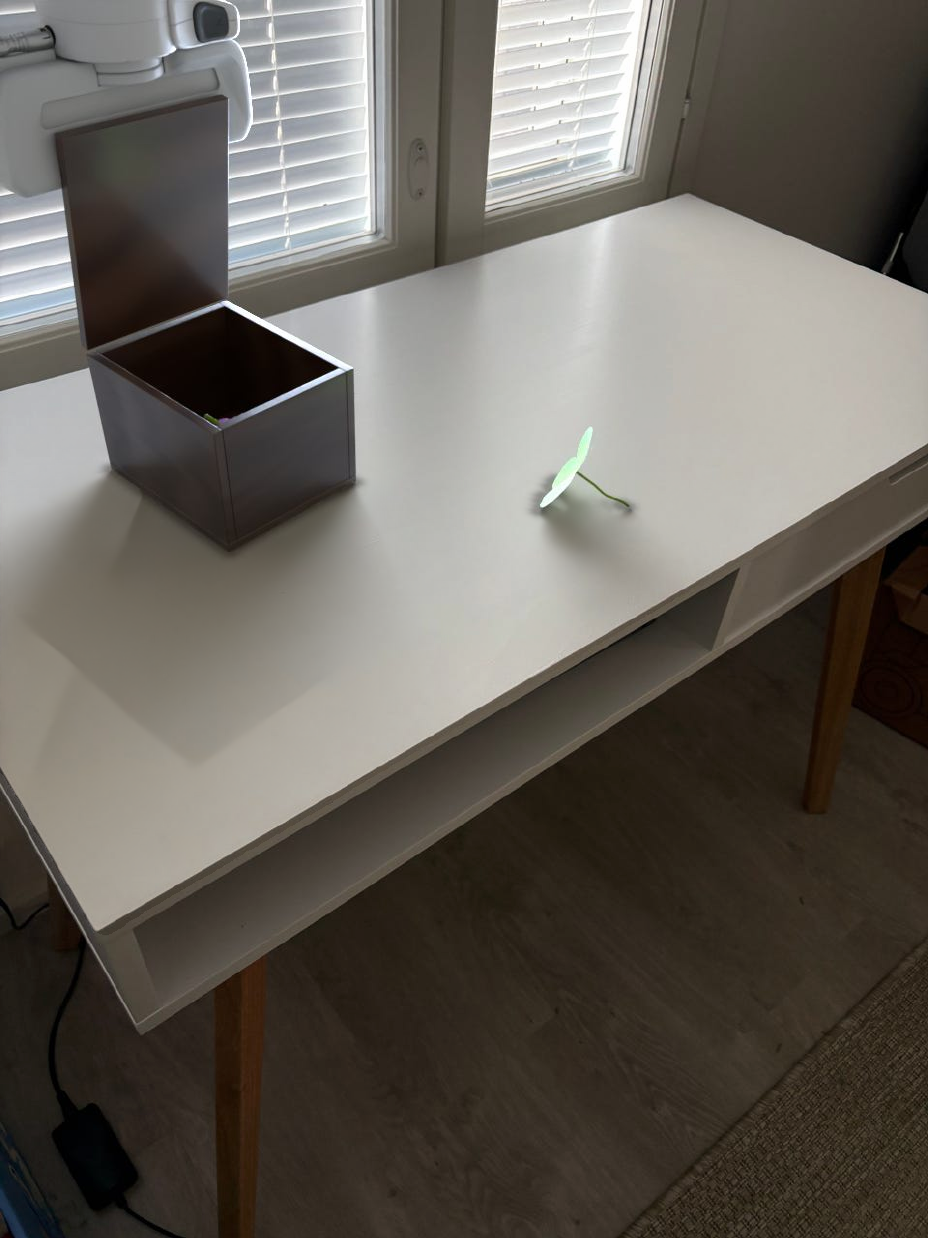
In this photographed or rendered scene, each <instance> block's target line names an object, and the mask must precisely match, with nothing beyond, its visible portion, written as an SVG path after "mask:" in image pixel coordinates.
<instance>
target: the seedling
mask: <svg viewBox="0 0 928 1238" xmlns="http://www.w3.org/2000/svg"><path fill="white" fill-rule="evenodd" d="M592 435H593V427H592V426H589V427H588V428H587V429H586V431H585V432H584V434H583V436H582V437H581V439H580V442H579V445H578V449H577V454H576V456H573V457H571V458H570V459H569V460H568V461H567V462H566V463H565V464H564V465H563V466H562V467H561V469H560V471H559V472H558V473H557V475H556V477H555V478H554V480H553V483H552V485H551V491H549V492H548V493H547V494H546V495H544V497H543V499H542V500H541V501H542V502H541V503H540V504H539V507H540V508H544V507H546V506H548V505H549V504H551V503H552V502H553V501H554V500H556V499H557V498H558V497H559V496H560V495H561V494H562V493H563V492H564V491H565V490H566V488H567V487H568V486H570V484H571V482H572V481H573V479H574V477H575V475H576V474H577V475H578V476H579V477H580V478H582V479H583V480H585V481H586V482H587V483H589V484H590V485H592V486H593V487H594V488H595V489H596V490H597V491H598V492H599V493H600V494H601V495H603V496H604V497H606V498H608V499H611V500H613V501H617V502H618V503H620V504H623V505H625V506H626V507H627V508H630V504H629V503H627V502H626V501H624V500H623V499H621V498H618V497H615V496H611V495H609V494H608V493H606V492H605V491H603V490H602V489H601V488H600V487H599V485H597V484H596V483H595V482H593V481H592V480H591V479H589V478H588V477H587V476H586V475H584V474H582V473H581V472H580V471H578V470H579V469H580V467H581V466H582V464H583V463H584V461H585V459H586V458H587V457H588V455H589V454H590V452H591V451H592V449H593V447H594V446H592V448H591V449H590V451H589V448H590V444H591V440H592Z"/></svg>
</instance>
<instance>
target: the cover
mask: <svg viewBox="0 0 928 1238" xmlns="http://www.w3.org/2000/svg"><path fill="white" fill-rule="evenodd" d="M55 140H56V148H57V156H58V164H59V172H60V178H61V185H62V189H61V193H62V194H61V195H62V203H63V211H64V218H65V227H66V233H67V242H68V243H67V244H68V250H69V257H70V265H71V273H72V280H73V281H72V282H73V289H74V297H75V305H76V313H77V320H78V327H79V329H78V330H79V336H80V344H81V347H83V348H84V349H85V350H86V351H91V350H94V349H96V348H98V347H101V346H104V345H107V344H109V343H111V342H114V341H116V340H120V339H122V338H125V337H127V336H129V335H132V334H135V333H138V332H140V331H143V330H145V329H149V328H150V327H154V326H156V325H159V324H161V323H164V322H167V321H169V320H172V319H174V318H175V319H176V318H178V317H180V316H183V315H185V314H188V313H190V312H193V311H196V310H198V309H202V308H204V307H206V306H209V305H213V304H215V303H217V302H219V301H220V302H221V301H222V300H225V299H228V298H229V189H230V188H229V186H230V185H229V181H230V179H229V178H230V177H229V171H230V170H229V163H230V161H229V159H230V157H229V155H230V153H229V145H230V143H229V98H227V97H226V96H224V95H223V94H220V95H215V96H211V97H207V98H203V99H198V100H194V101H190V102H185V103H181V104H177V105H173V106H168V107H164V108H160V109H156V110H151V111H147V112H143V113H138V114H134V115H130V116H126V117H121V118H117V119H113V120H109V121H104V122H100V123H96V124H92V125H87V126H83V127H79V128H74V129H70V130H66V131H62V132H57V133H55Z"/></svg>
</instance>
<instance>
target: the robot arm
mask: <svg viewBox="0 0 928 1238" xmlns="http://www.w3.org/2000/svg"><path fill="white" fill-rule="evenodd" d="M33 4H34V10H35V14H36V18H37V19H36V20H37V25H38V27H37V28H33V29H32V28H31V29H27V30H23V31H18V32H16V33H13V34H9V35H3V34H0V186H1V187H3V188H4V189H5V190H7V191H9V192H11V193H12V194H15V195H17V196H18V197H22V198H25V199H27V198H32V197H36V196H40V195H44V194H48V193H52V192H55V191H60V190H62V185H61V178H60V172H59V164H58V156H57V148H56V140H55V133H57V132H62V131H66V130H70V129H74V128H79V127H83V126H87V125H92V124H96V123H100V122H104V121H109V120H113V119H117V118H121V117H126V116H130V115H134V114H138V113H143V112H147V111H151V110H156V109H160V108H164V107H168V106H173V105H177V104H181V103H185V102H190V101H194V100H198V99H203V98H207V97H211V96H215V95H220V94H223V95H224V96H226V97H227V98H229V144H232V143H235V142H240V141H243V140H245V139H246V137H247V136H248V133H249V131H250V129H251V126H252V124H253V105H252V95H251V86H250V77H249V72H248V71H249V70H248V66H247V61H246V57H245V54H244V51H243V49H242V47H240V45H239V43H238V42H236V41H235V40H234V39H235V38H237V36H238V35H239V33H240V25H241V24H240V13H239V10H238V8H237V7H236V5H234V4H233V3H232V2H231V3H230V2H229V1H226V0H33Z"/></svg>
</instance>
